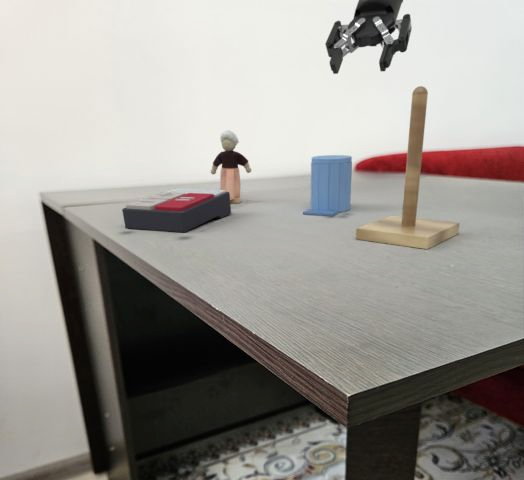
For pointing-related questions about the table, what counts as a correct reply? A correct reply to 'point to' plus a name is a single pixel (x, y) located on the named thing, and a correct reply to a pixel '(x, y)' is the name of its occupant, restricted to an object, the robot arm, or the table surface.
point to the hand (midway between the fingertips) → (357, 68)
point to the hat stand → (411, 196)
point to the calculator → (177, 209)
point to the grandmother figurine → (230, 166)
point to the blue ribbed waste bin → (330, 185)
